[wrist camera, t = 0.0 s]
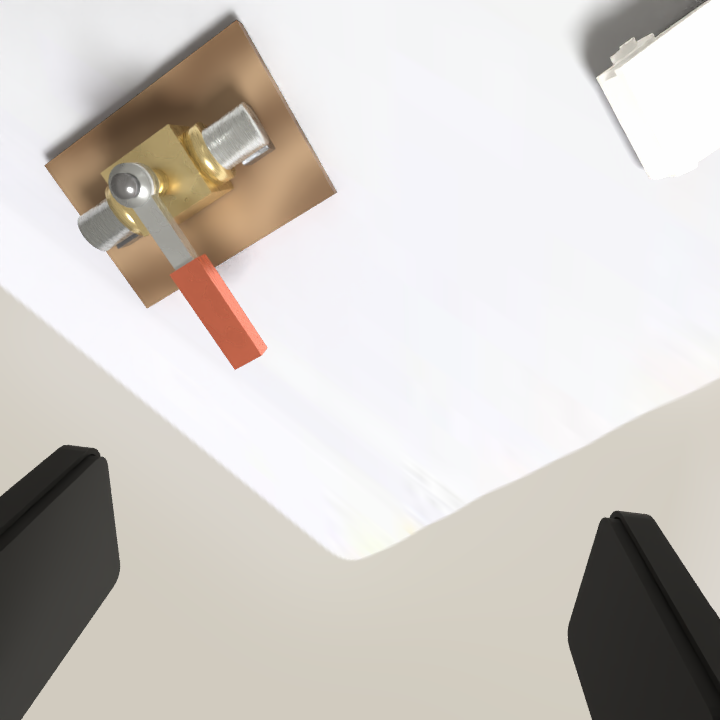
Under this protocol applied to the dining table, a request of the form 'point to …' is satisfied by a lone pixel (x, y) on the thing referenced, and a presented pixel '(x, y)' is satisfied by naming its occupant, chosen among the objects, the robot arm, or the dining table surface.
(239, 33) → the base board
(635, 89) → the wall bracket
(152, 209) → the lever
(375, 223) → the dining table surface
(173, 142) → the ball valve
